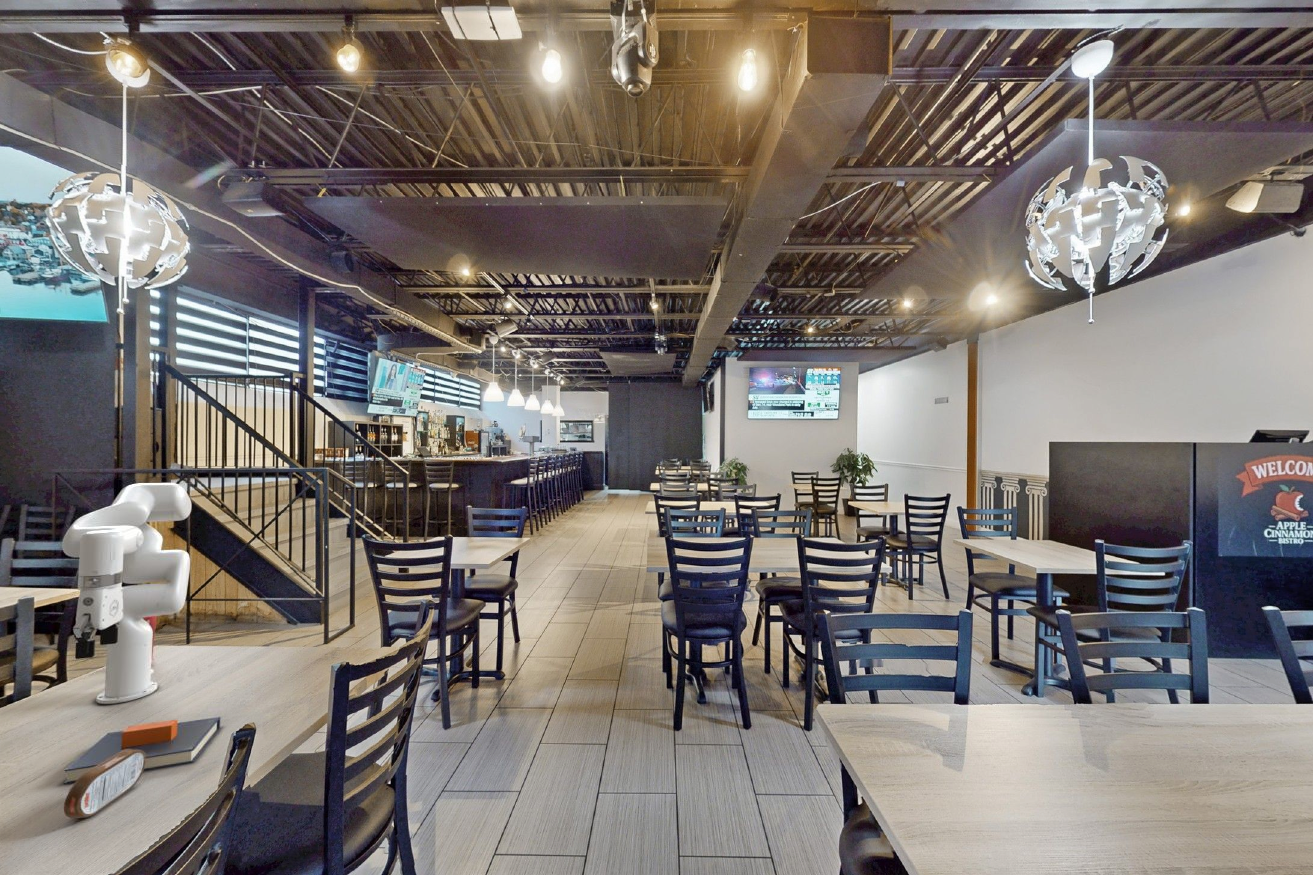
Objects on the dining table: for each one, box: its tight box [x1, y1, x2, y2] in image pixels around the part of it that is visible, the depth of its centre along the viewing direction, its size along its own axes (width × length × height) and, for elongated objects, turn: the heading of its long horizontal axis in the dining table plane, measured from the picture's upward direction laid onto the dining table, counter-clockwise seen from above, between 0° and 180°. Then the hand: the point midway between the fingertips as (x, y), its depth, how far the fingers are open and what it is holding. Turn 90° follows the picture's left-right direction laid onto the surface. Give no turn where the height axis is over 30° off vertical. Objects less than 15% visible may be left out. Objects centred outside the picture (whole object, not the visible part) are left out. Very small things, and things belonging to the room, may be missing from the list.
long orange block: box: [121, 719, 178, 748], centre depth 124 cm, size 3×9×4 cm, turn 113°
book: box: [63, 716, 221, 785], centre depth 124 cm, size 16×22×3 cm
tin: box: [63, 749, 146, 819], centre depth 107 cm, size 15×3×8 cm, turn 5°
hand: (97, 650), depth 129 cm, fingers open, 9 cm apart
